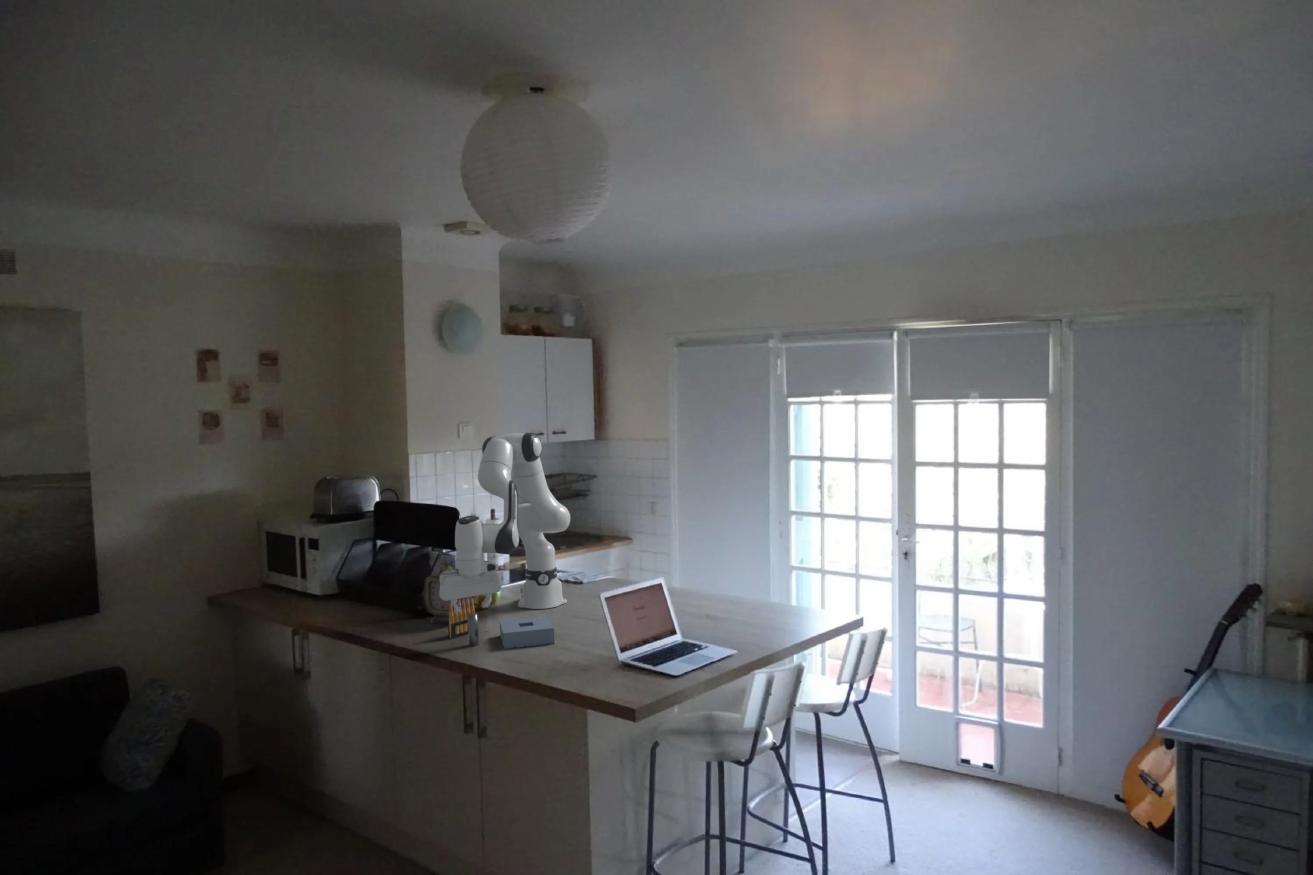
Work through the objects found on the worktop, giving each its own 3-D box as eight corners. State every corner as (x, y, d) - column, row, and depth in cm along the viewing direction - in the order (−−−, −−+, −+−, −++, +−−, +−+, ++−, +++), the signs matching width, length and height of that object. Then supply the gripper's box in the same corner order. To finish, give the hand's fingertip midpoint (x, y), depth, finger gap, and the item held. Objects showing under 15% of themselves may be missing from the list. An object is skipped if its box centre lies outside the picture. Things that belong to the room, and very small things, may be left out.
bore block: (500, 635, 284) (499, 620, 284) (547, 630, 288) (547, 616, 288) (504, 648, 269) (503, 633, 269) (554, 643, 273) (553, 627, 273)
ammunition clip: (451, 639, 282) (450, 603, 282) (448, 638, 284) (446, 602, 283) (477, 631, 291) (475, 596, 290) (473, 630, 292) (471, 596, 291)
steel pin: (468, 644, 276) (467, 613, 275) (478, 643, 276) (477, 612, 276) (469, 646, 272) (467, 616, 272) (479, 645, 273) (477, 615, 273)
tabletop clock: (425, 623, 304) (422, 554, 303) (442, 617, 312) (439, 549, 311) (456, 627, 297) (453, 556, 296) (473, 621, 305) (470, 552, 304)
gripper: (443, 572, 264) (444, 617, 265) (502, 564, 277) (504, 606, 277) (435, 570, 269) (436, 613, 270) (494, 562, 282) (495, 603, 282)
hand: (471, 609), depth 274 cm, fingers open, 8 cm apart
